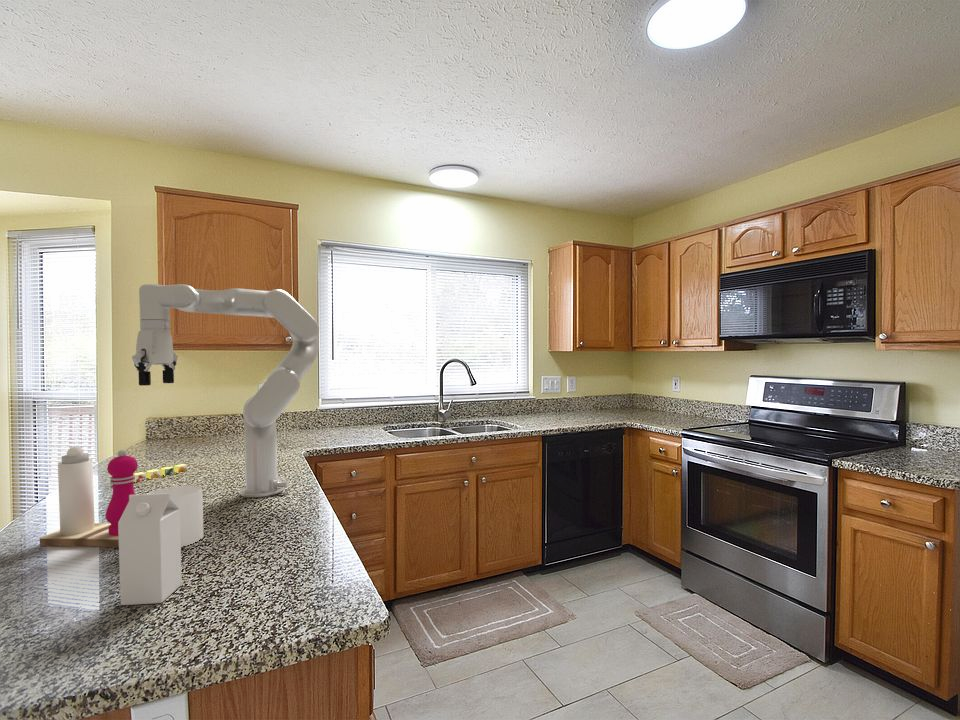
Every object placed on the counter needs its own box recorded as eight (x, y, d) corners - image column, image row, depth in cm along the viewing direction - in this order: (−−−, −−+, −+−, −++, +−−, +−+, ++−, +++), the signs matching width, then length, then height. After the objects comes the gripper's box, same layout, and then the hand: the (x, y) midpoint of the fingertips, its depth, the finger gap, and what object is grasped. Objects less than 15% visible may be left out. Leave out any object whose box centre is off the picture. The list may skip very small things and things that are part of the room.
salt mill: (101, 525, 126) (98, 443, 125) (78, 535, 119) (75, 449, 119) (76, 525, 126) (74, 443, 126) (52, 535, 119) (49, 449, 119)
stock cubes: (86, 485, 176) (86, 475, 176) (180, 466, 203) (180, 458, 203) (130, 497, 159) (129, 487, 159) (226, 475, 186) (225, 466, 186)
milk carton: (143, 587, 96) (140, 489, 96) (182, 585, 97) (179, 488, 96) (120, 606, 89) (117, 500, 89) (161, 603, 90) (158, 499, 89)
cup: (143, 554, 112) (141, 501, 112) (149, 537, 122) (148, 489, 122) (202, 544, 117) (201, 494, 117) (204, 529, 128) (203, 482, 127)
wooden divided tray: (158, 531, 126) (157, 523, 126) (127, 547, 116) (127, 538, 116) (76, 530, 128) (76, 523, 128) (39, 546, 118) (39, 537, 118)
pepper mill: (128, 524, 126) (126, 446, 126) (149, 527, 124) (147, 447, 123) (98, 534, 119) (96, 451, 119) (120, 538, 117) (117, 453, 116)
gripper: (163, 328, 156) (165, 382, 157) (120, 325, 139) (122, 386, 139) (186, 327, 156) (188, 382, 156) (145, 324, 138) (147, 386, 139)
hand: (157, 384), depth 148 cm, fingers open, 9 cm apart
